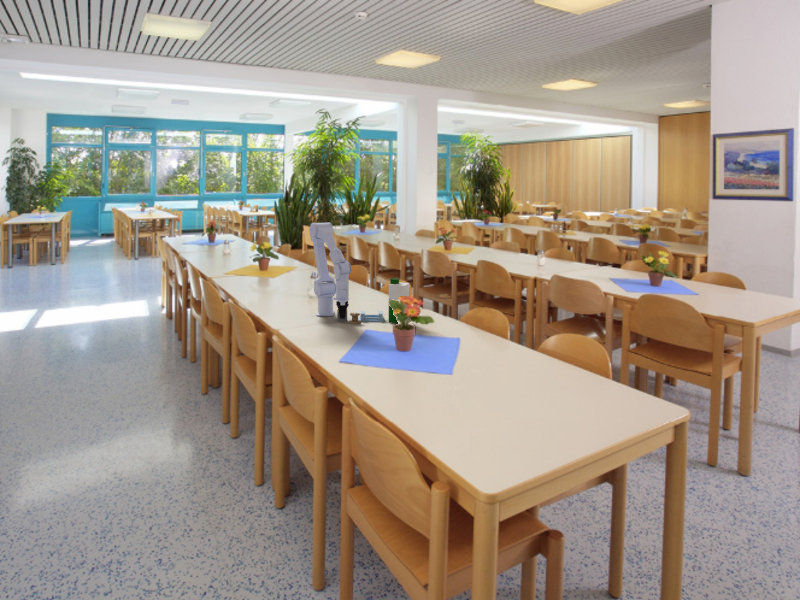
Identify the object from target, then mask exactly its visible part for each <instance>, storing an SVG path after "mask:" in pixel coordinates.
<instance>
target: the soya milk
mask: <svg viewBox="0 0 800 600" xmlns="http://www.w3.org/2000/svg"><path fill="white" fill-rule="evenodd" d="M387 286H388V302H389V301H390V300H392V299H394V300H398V298H399V297H400V296H409V297H410V282H404V281H403V282H401V281H400V278H398V277H393V278H390V282H389V283H388V284H387ZM389 322H392V323H391V324H398V322H397V320H396V317H395V316H394V315H393V310H392V308H391V307H390V306H389V305H388V323H389Z"/></svg>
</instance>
